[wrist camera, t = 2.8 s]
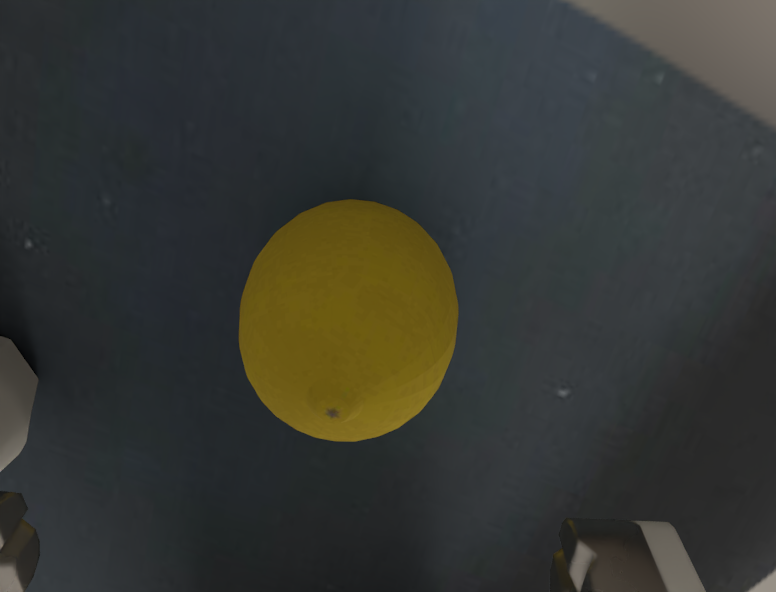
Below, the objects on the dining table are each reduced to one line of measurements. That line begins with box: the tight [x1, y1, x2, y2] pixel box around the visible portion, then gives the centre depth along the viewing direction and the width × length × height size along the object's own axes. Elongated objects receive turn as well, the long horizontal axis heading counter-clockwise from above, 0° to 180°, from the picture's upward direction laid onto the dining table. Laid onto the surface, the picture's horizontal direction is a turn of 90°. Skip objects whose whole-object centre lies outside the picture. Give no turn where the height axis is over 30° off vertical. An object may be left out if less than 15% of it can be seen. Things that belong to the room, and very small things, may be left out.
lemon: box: [239, 199, 458, 441], centre depth 16 cm, size 6×6×8 cm
